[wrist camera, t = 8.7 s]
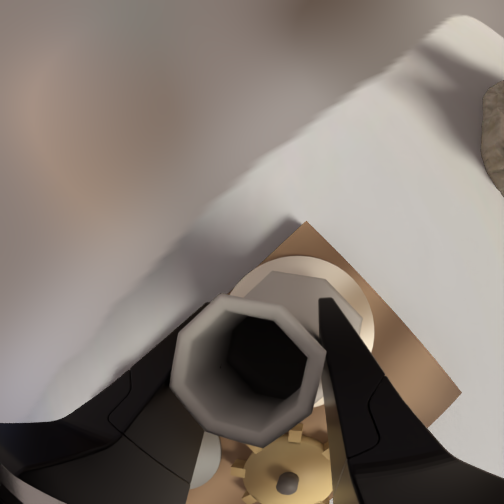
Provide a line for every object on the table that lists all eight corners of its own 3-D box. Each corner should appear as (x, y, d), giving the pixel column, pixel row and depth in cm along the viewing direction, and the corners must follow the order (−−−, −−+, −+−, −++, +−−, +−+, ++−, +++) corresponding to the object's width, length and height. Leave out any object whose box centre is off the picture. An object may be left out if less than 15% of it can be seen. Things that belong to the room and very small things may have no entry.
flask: (204, 361, 16) (70, 394, 6) (266, 249, 16) (189, 155, 7) (315, 425, 13) (297, 549, 4) (384, 309, 14) (477, 292, 5)
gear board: (452, 388, 14) (477, 400, 11) (217, 539, 15) (201, 563, 11) (307, 228, 19) (303, 207, 15) (103, 411, 19) (73, 420, 16)
